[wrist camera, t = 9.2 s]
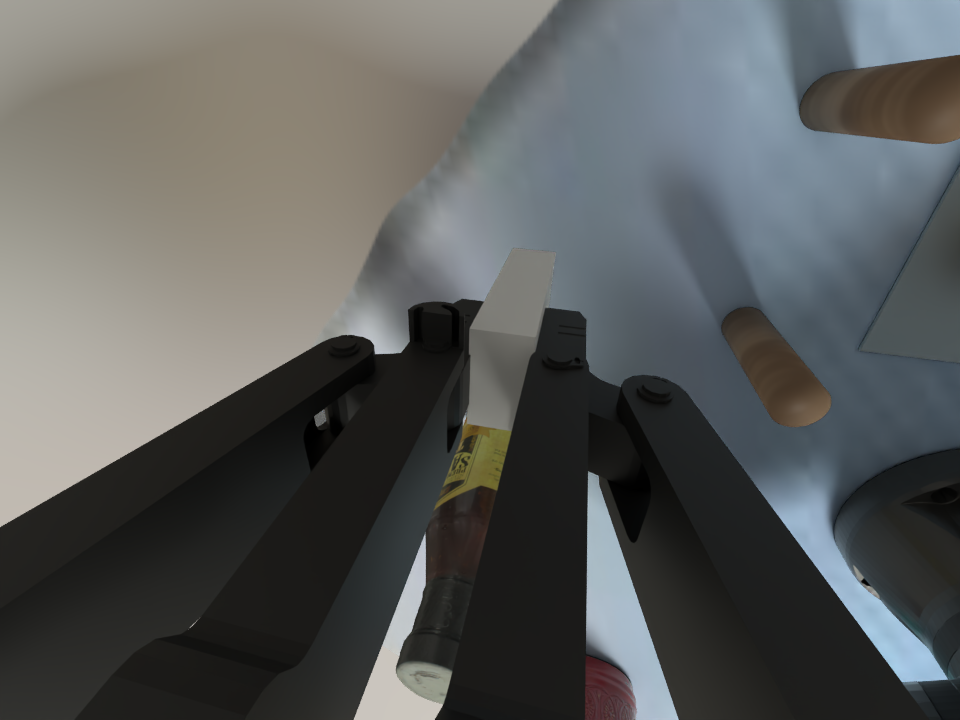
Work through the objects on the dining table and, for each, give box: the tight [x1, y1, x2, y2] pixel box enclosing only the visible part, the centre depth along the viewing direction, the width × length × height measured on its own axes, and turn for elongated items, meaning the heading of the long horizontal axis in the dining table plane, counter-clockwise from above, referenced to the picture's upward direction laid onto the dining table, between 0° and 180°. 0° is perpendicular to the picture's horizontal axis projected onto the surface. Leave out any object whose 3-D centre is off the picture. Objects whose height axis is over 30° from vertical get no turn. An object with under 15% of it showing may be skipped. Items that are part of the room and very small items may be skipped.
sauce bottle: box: [396, 417, 512, 704], centre depth 28 cm, size 7×6×20 cm
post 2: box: [800, 55, 960, 144], centre depth 18 cm, size 3×3×9 cm
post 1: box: [721, 307, 831, 427], centre depth 25 cm, size 3×3×9 cm
